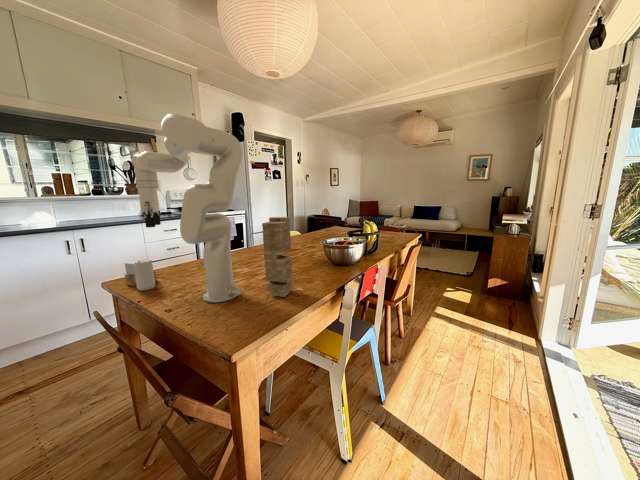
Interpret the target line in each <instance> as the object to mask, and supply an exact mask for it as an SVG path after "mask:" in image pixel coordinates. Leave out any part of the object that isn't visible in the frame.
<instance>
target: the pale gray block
mask: <svg viewBox="0 0 640 480" xmlns="http://www.w3.org/2000/svg"><path fill="white" fill-rule="evenodd" d="M145 259H146V258H145ZM145 259H144V258H143V259H142V258H139V259H136V260H132V261H128V262H124V268H125V274H129V275H135V272H134V266H133V265H134V264H135V263H134V262H135V261H138V260H145ZM150 260H151V262H152V263H153V260H152V259H150Z"/></svg>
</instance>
